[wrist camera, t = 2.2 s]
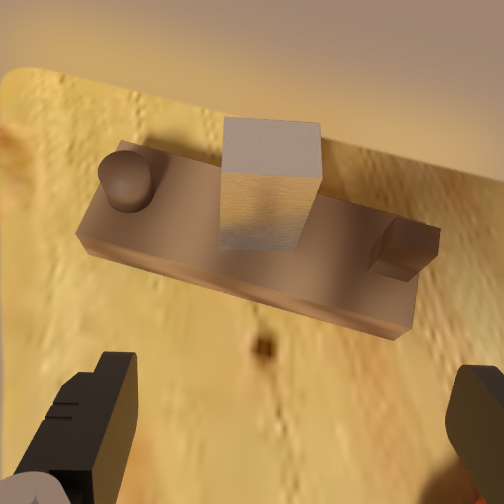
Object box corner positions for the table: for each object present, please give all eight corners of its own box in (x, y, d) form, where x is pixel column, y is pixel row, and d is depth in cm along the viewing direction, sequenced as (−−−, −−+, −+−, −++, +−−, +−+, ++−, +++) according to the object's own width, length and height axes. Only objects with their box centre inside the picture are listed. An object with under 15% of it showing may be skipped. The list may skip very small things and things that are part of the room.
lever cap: (292, 202, 29) (319, 115, 21) (293, 252, 27) (322, 178, 20) (221, 198, 28) (224, 109, 21) (219, 248, 27) (221, 172, 20)
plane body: (407, 243, 32) (456, 189, 25) (393, 340, 29) (444, 307, 22) (128, 166, 32) (107, 95, 26) (88, 254, 29) (53, 198, 23)
